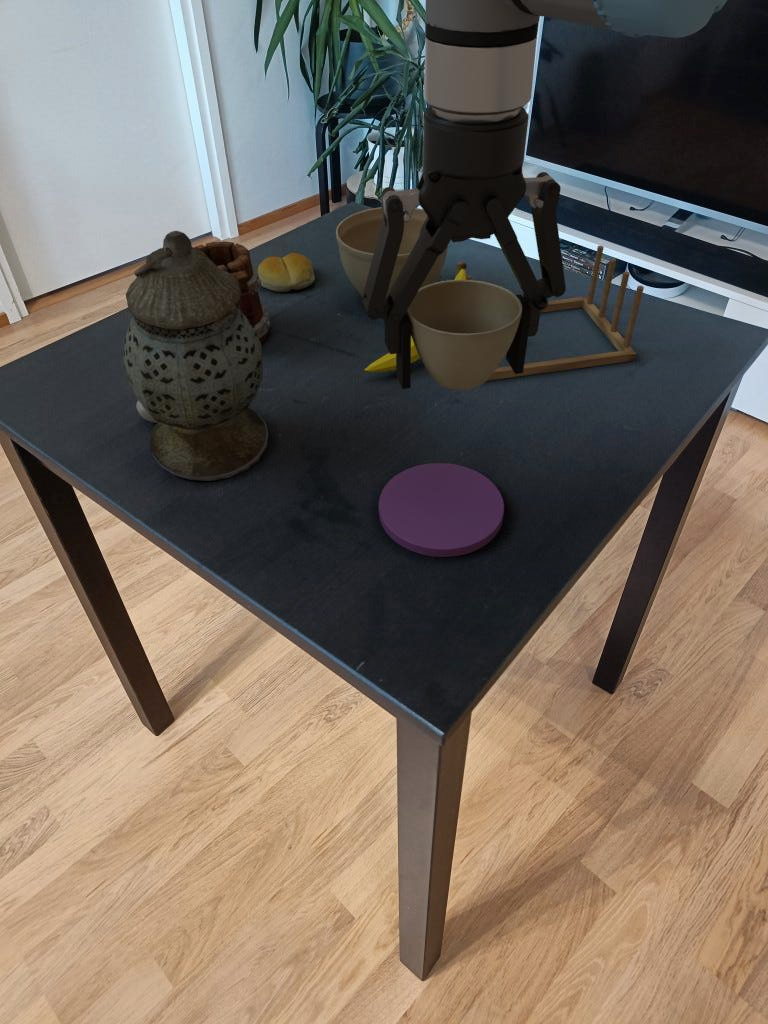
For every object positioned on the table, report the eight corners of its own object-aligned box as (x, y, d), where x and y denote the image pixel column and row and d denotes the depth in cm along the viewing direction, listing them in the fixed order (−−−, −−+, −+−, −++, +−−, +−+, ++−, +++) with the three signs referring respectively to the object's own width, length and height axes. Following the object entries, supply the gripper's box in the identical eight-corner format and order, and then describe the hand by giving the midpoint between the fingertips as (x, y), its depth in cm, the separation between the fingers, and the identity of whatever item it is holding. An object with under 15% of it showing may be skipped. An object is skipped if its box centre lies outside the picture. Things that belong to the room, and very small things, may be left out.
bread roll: (256, 273, 115) (252, 249, 112) (311, 267, 116) (308, 243, 113) (260, 297, 109) (256, 272, 106) (318, 290, 110) (315, 265, 108)
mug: (249, 302, 107) (241, 208, 96) (293, 358, 101) (290, 265, 89) (175, 324, 103) (157, 229, 91) (216, 384, 96) (201, 290, 84)
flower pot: (531, 365, 67) (541, 294, 62) (482, 419, 61) (489, 346, 56) (439, 337, 71) (442, 269, 66) (385, 385, 65) (383, 314, 60)
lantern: (163, 496, 77) (114, 287, 58) (131, 415, 85) (79, 210, 66) (286, 461, 81) (276, 258, 63) (244, 388, 90) (225, 189, 71)
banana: (376, 393, 95) (352, 359, 91) (476, 297, 97) (458, 260, 92) (387, 400, 93) (364, 366, 89) (490, 302, 94) (471, 264, 90)
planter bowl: (324, 288, 111) (318, 218, 103) (417, 267, 115) (418, 198, 108) (366, 337, 100) (363, 263, 93) (466, 311, 105) (471, 238, 97)
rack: (634, 360, 94) (651, 293, 88) (482, 381, 92) (488, 313, 85) (585, 303, 106) (598, 240, 99) (449, 320, 103) (452, 256, 96)
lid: (520, 545, 71) (522, 537, 70) (393, 567, 69) (393, 559, 68) (481, 463, 80) (482, 455, 79) (368, 480, 78) (367, 472, 78)
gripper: (603, 81, 55) (559, 337, 70) (312, 104, 52) (333, 366, 67) (648, 108, 49) (590, 379, 65) (326, 136, 46) (346, 412, 62)
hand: (459, 373), depth 66 cm, fingers closed on flower pot, 10 cm apart
